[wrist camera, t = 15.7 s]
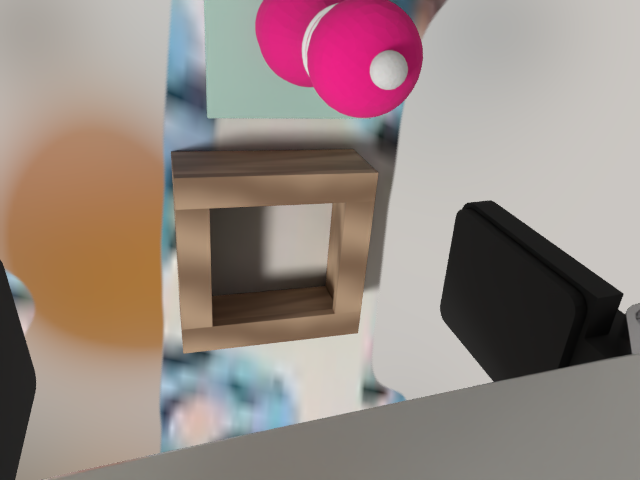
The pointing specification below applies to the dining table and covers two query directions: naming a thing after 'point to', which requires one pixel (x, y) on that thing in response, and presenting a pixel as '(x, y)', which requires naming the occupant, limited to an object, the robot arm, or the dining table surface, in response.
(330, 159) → the box
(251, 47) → the green mat
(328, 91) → the pepper mill
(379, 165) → the dining table surface
